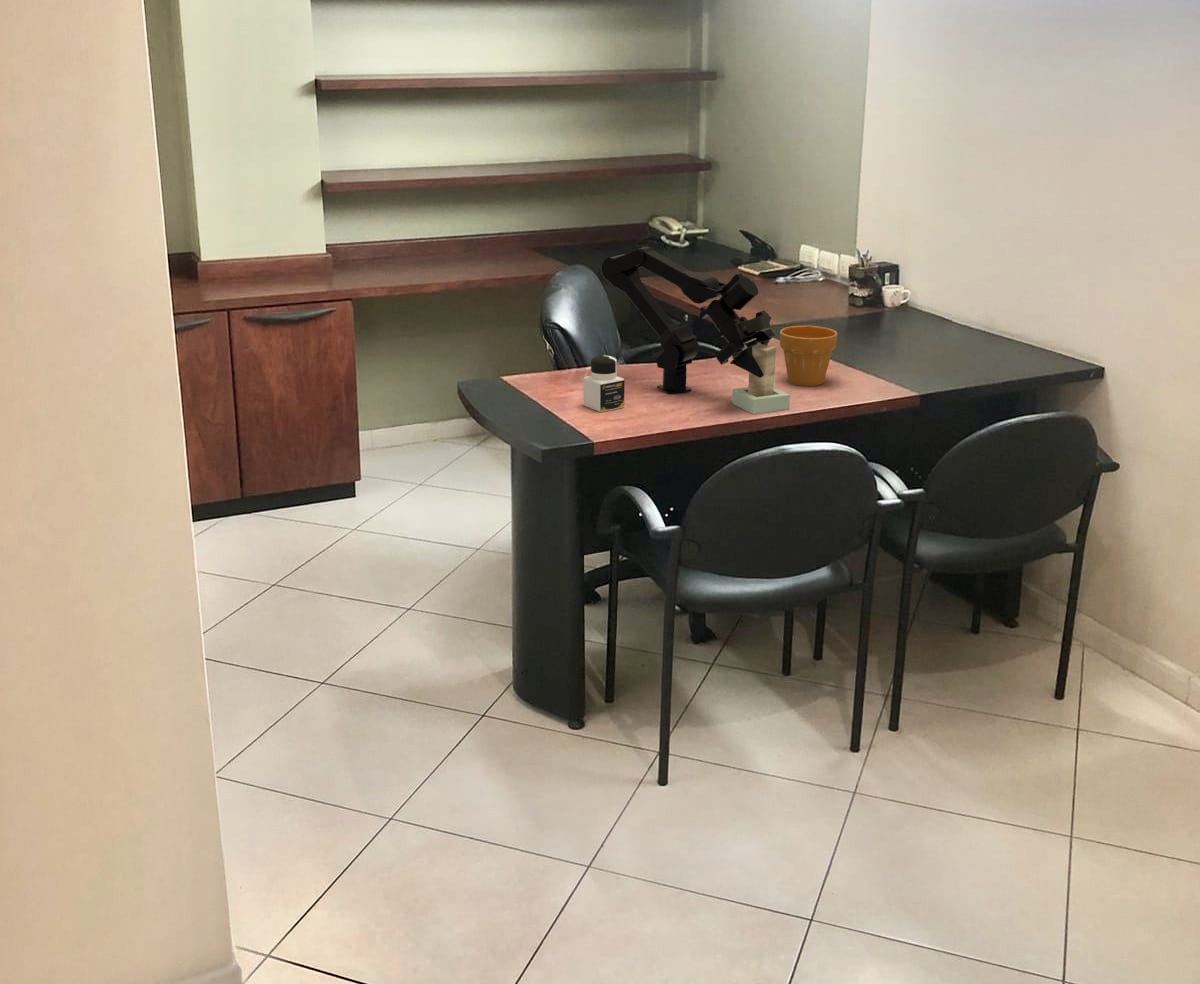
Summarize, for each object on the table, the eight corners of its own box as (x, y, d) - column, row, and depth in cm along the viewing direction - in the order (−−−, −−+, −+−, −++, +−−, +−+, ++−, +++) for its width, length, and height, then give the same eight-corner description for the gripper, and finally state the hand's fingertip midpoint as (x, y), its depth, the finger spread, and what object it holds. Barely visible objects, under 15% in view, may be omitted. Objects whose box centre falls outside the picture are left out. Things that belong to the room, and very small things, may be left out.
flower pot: (791, 391, 303) (794, 339, 299) (768, 376, 316) (771, 327, 312) (843, 387, 307) (847, 336, 302) (819, 373, 320) (822, 323, 315)
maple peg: (747, 401, 290) (750, 347, 285) (756, 397, 293) (759, 343, 289) (764, 404, 288) (767, 350, 283) (773, 400, 291) (776, 346, 286)
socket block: (731, 403, 293) (732, 389, 292) (767, 398, 297) (767, 384, 296) (753, 414, 285) (754, 399, 284) (789, 409, 289) (789, 394, 288)
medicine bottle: (600, 412, 286) (600, 362, 282) (582, 405, 291) (582, 356, 287) (624, 407, 290) (625, 358, 286) (607, 400, 295) (607, 352, 291)
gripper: (730, 307, 277) (771, 362, 275) (769, 294, 292) (808, 346, 289) (699, 337, 284) (738, 390, 282) (739, 322, 299) (776, 373, 297)
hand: (766, 374), depth 287 cm, fingers closed on maple peg, 4 cm apart
